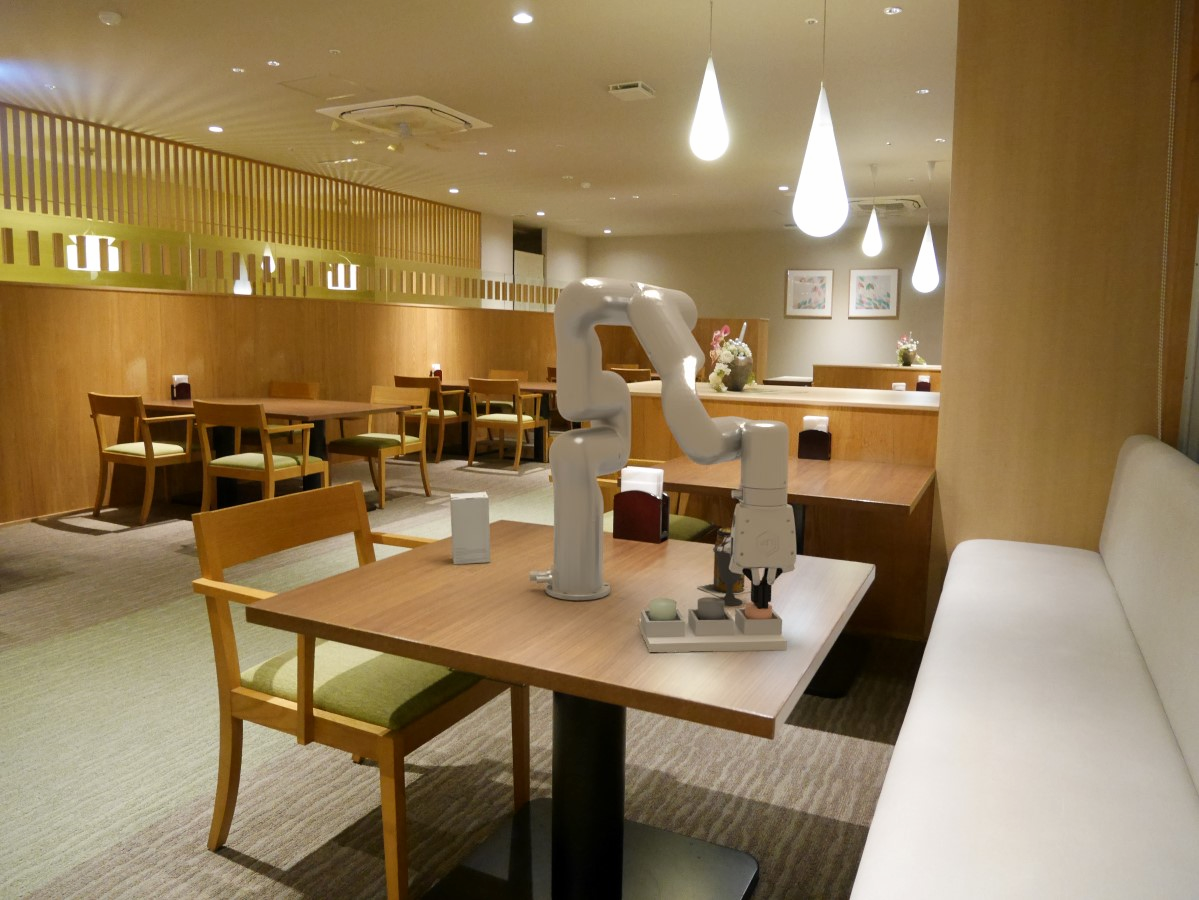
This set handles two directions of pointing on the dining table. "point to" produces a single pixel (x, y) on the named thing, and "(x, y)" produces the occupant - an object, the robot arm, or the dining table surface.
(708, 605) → the charcoal button
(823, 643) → the dining table surface
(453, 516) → the skincare box
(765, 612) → the terracotta button
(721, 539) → the condiment
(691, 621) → the panel
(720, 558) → the sundae
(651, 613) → the sage button
